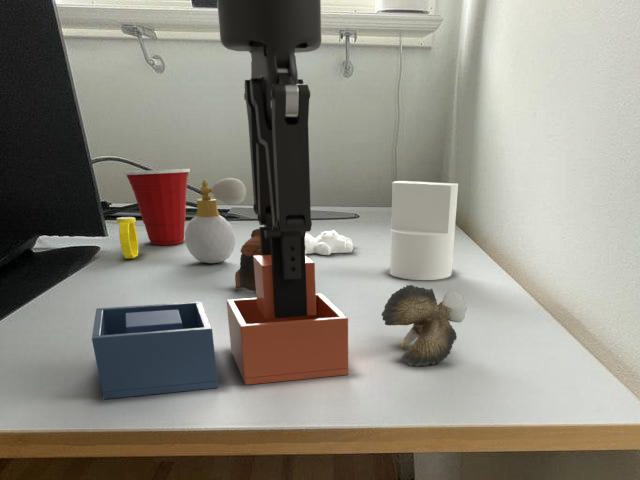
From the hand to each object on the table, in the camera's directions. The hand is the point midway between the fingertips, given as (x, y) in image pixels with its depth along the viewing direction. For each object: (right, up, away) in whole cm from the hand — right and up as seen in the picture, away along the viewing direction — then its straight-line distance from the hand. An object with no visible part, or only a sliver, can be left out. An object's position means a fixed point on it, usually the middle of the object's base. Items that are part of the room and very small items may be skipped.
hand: (285, 307), depth 59 cm
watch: (-29, +20, +46) cm, 58 cm away
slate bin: (-11, -6, 0) cm, 13 cm away
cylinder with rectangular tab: (+16, +15, +37) cm, 43 cm away
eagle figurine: (+13, -3, +6) cm, 15 cm away
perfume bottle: (-15, +18, +43) cm, 49 cm away
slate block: (-11, -6, -1) cm, 12 cm away
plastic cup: (-28, +27, +58) cm, 70 cm away
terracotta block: (0, 0, 0) cm, 0 cm away
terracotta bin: (0, -4, +3) cm, 5 cm away
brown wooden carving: (-5, +10, +29) cm, 31 cm away
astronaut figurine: (0, +23, +52) cm, 57 cm away
